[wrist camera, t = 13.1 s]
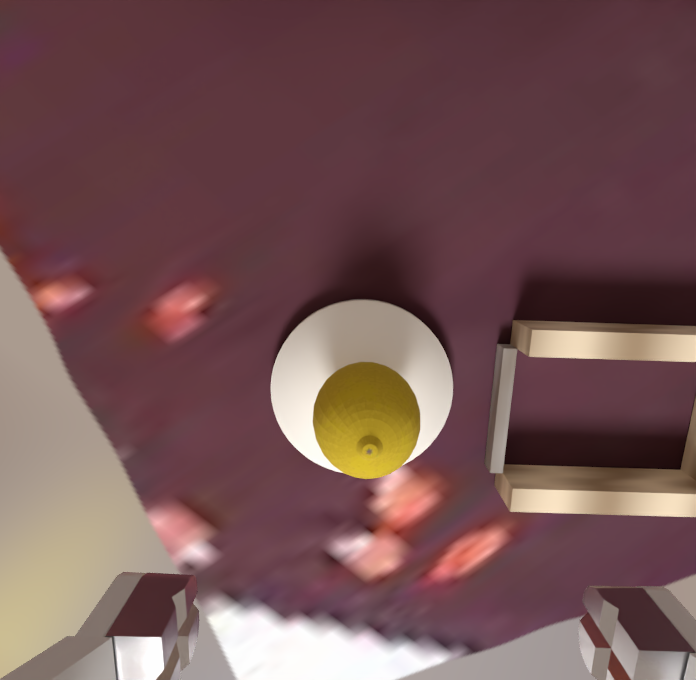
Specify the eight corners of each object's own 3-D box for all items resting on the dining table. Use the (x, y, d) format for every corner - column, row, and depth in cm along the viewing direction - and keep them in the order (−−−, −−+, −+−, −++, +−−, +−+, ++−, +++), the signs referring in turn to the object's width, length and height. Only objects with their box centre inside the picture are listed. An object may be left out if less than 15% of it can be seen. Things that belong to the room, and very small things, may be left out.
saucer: (456, 301, 28) (460, 304, 27) (442, 469, 30) (445, 477, 29) (273, 295, 28) (270, 297, 27) (273, 464, 30) (271, 472, 29)
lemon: (362, 327, 27) (369, 365, 19) (428, 390, 28) (459, 451, 20) (298, 392, 28) (279, 453, 20) (363, 451, 29) (370, 531, 21)
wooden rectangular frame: (734, 327, 28) (788, 339, 25) (698, 491, 30) (743, 523, 27) (499, 319, 28) (520, 331, 24) (482, 484, 30) (499, 516, 27)
